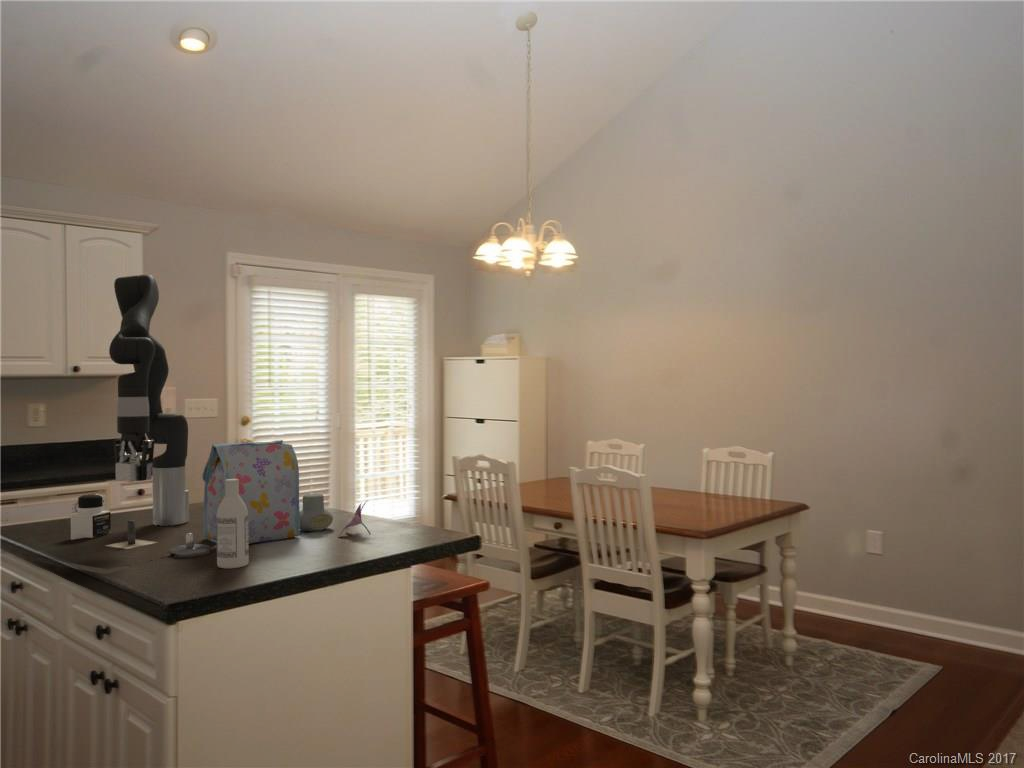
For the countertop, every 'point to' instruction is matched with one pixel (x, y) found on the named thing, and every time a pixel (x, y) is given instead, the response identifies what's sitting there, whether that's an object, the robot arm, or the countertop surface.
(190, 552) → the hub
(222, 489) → the lunch bag
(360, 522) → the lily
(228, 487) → the bath foam
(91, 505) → the medicine bottle
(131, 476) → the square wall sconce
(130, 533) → the stand
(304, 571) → the countertop surface
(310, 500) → the air freshener
